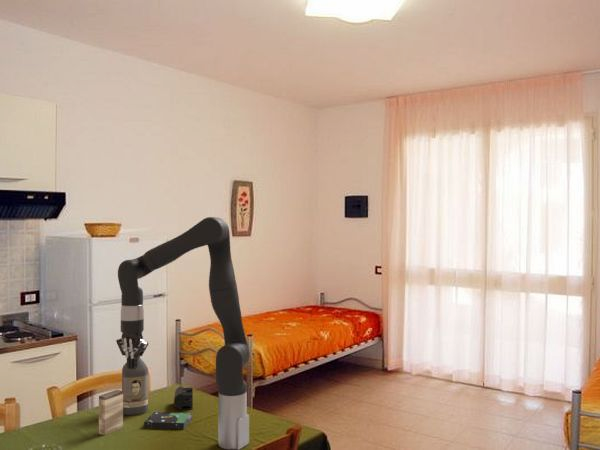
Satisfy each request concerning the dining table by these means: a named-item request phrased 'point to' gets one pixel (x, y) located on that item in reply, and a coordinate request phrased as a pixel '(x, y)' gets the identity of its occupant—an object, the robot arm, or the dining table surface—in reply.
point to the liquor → (135, 389)
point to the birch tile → (110, 412)
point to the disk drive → (168, 420)
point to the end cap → (183, 398)
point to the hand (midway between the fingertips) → (132, 368)
